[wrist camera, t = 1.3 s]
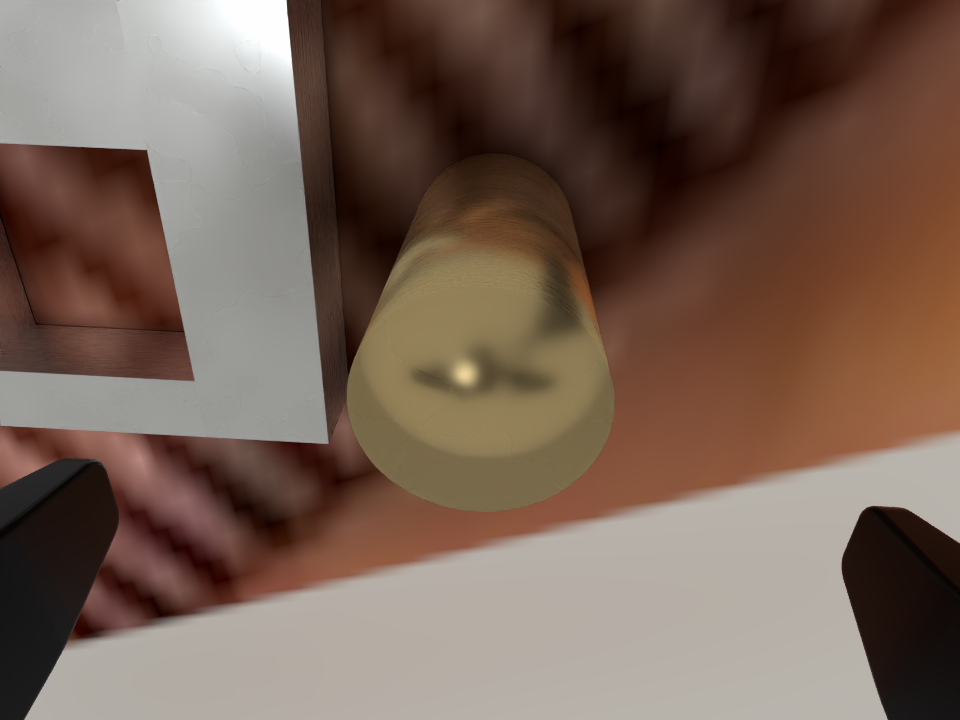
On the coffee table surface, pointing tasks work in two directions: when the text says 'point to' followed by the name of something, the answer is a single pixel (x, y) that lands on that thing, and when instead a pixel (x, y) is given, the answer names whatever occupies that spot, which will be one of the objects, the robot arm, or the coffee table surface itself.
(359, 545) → the coffee table surface
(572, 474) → the pale yellow rod
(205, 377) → the plate
